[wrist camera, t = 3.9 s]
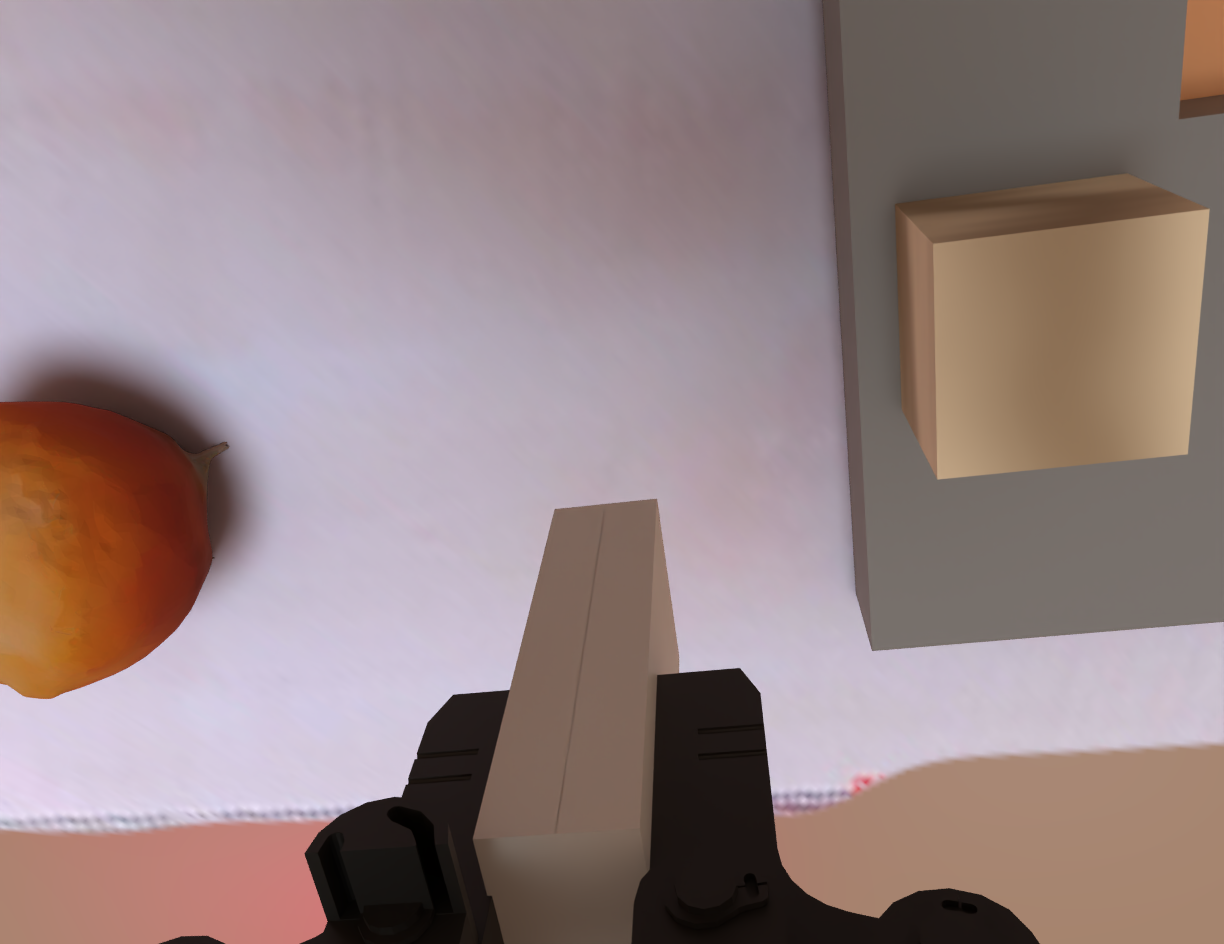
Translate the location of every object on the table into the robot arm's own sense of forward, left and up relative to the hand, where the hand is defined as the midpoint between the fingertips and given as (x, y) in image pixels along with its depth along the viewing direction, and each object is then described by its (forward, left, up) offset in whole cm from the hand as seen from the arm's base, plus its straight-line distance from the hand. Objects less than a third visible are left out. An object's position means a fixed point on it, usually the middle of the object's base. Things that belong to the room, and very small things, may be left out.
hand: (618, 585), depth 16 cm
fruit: (-16, -3, -14) cm, 22 cm away
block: (+9, 0, -11) cm, 14 cm away
